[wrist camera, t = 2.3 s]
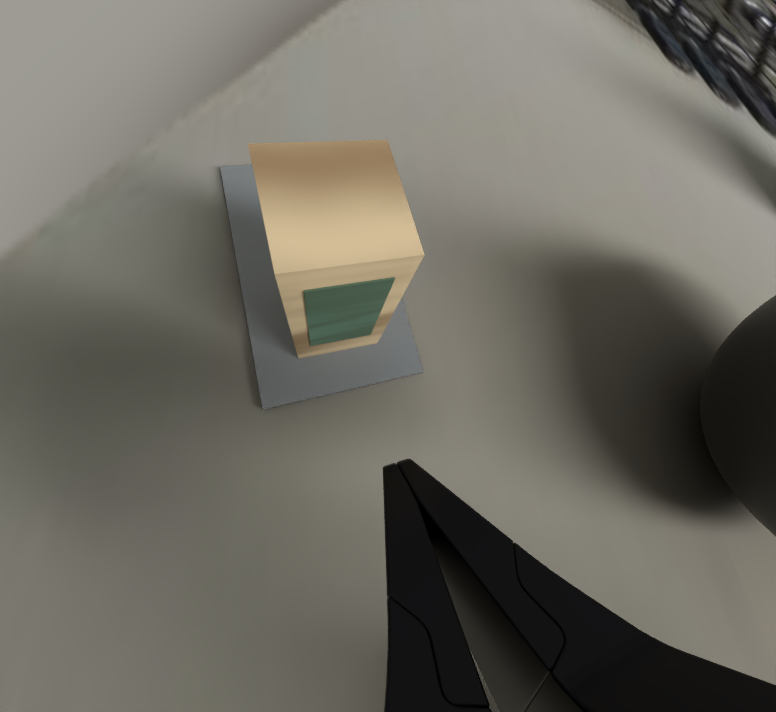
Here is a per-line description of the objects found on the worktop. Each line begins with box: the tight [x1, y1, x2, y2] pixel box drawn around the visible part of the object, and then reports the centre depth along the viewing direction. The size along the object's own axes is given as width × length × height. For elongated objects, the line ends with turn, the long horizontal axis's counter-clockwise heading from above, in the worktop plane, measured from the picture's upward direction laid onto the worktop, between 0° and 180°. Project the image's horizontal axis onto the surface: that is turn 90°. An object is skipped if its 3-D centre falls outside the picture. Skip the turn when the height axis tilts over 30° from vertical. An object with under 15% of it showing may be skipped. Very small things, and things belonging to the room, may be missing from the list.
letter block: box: [248, 140, 424, 359], centre depth 15 cm, size 5×5×10 cm
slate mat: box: [220, 165, 424, 410], centre depth 21 cm, size 17×10×1 cm, turn 15°
